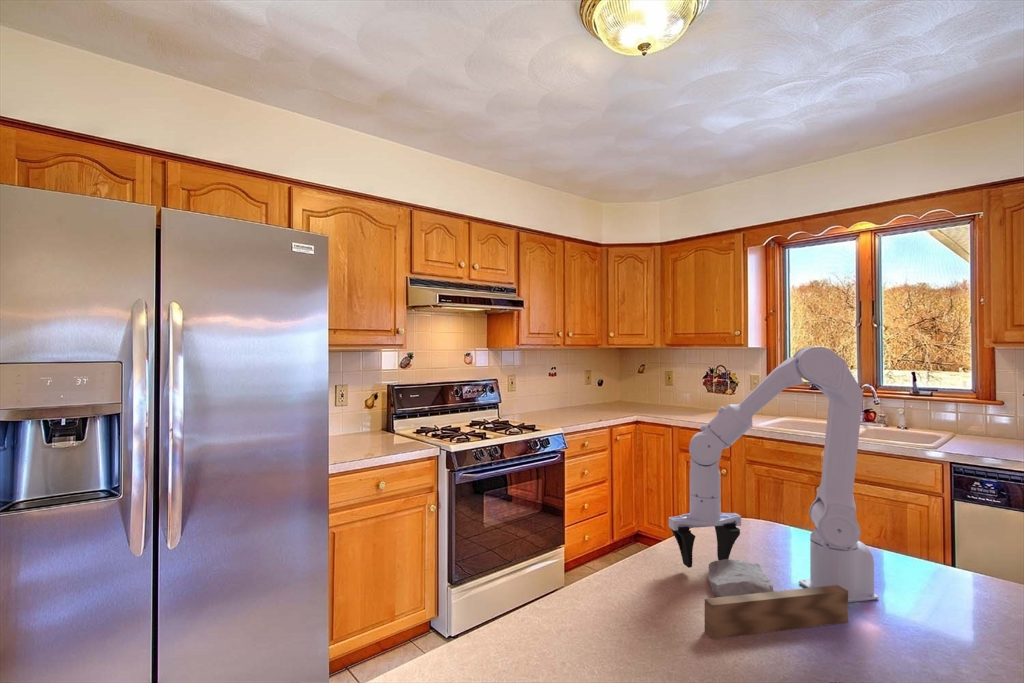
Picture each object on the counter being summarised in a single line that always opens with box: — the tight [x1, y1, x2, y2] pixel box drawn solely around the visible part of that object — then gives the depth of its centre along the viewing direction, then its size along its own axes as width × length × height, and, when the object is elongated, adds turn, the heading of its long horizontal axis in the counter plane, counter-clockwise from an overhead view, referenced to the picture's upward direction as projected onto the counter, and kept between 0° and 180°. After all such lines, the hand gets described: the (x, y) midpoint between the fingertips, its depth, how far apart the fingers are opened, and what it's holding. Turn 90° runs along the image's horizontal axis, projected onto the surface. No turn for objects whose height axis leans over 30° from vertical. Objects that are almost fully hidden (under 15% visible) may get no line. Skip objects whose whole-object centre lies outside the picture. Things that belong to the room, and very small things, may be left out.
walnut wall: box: [704, 585, 849, 640], centre depth 78 cm, size 24×2×5 cm, turn 101°
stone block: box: [708, 558, 775, 597], centre depth 90 cm, size 12×5×10 cm
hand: (705, 563), depth 97 cm, fingers open, 7 cm apart
